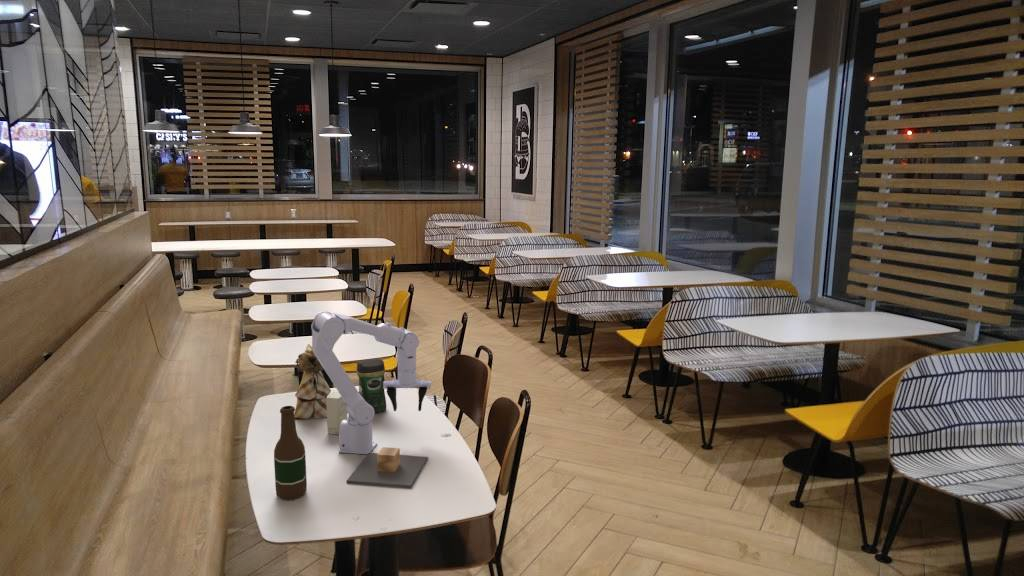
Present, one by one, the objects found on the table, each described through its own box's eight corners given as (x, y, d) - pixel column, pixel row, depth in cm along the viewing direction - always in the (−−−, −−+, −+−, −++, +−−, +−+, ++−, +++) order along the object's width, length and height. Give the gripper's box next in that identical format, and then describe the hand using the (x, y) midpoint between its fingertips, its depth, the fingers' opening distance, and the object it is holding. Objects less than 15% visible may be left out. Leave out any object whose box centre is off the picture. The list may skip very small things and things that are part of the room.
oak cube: (377, 471, 191) (377, 454, 190) (383, 463, 196) (382, 447, 195) (394, 472, 190) (394, 455, 189) (399, 464, 195) (399, 448, 194)
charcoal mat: (346, 483, 185) (346, 480, 185) (368, 455, 203) (368, 452, 203) (410, 488, 183) (410, 485, 183) (427, 459, 201) (427, 456, 200)
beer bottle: (274, 490, 181) (270, 404, 177) (305, 484, 184) (301, 400, 180) (277, 503, 174) (272, 414, 170) (308, 498, 177) (304, 410, 173)
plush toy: (348, 406, 239) (330, 338, 235) (328, 421, 226) (309, 350, 222) (313, 410, 243) (295, 344, 239) (292, 426, 230) (272, 356, 226)
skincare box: (339, 435, 217) (338, 398, 215) (326, 433, 218) (325, 397, 216) (348, 427, 223) (347, 392, 221) (335, 426, 224) (334, 391, 222)
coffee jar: (382, 404, 244) (380, 354, 240) (388, 412, 237) (387, 360, 234) (355, 408, 240) (353, 358, 236) (361, 416, 233) (359, 364, 229)
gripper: (381, 372, 207) (382, 414, 209) (429, 372, 208) (429, 414, 210) (384, 365, 214) (385, 406, 216) (431, 365, 214) (431, 406, 217)
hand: (407, 409), depth 214 cm, fingers open, 7 cm apart
